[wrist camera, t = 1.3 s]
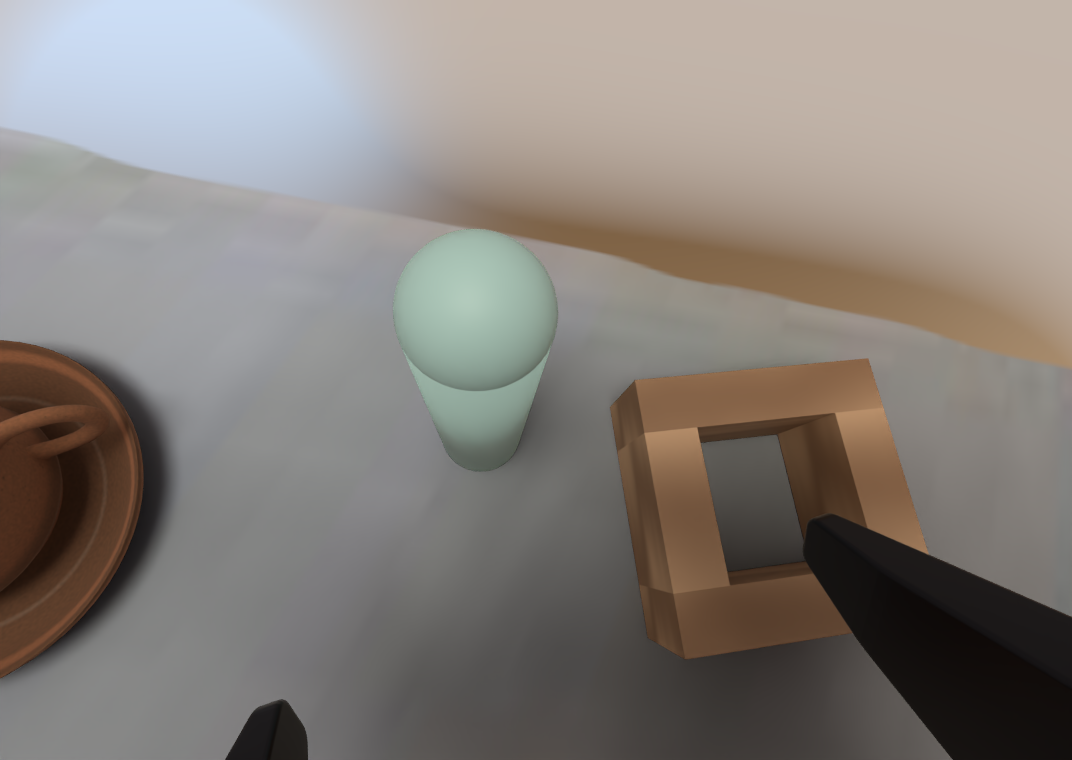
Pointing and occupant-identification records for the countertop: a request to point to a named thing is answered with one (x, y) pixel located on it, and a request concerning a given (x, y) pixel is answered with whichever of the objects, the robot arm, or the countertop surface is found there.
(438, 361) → the dowel
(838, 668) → the countertop surface
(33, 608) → the cup and saucer
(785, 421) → the wooden square socket block
